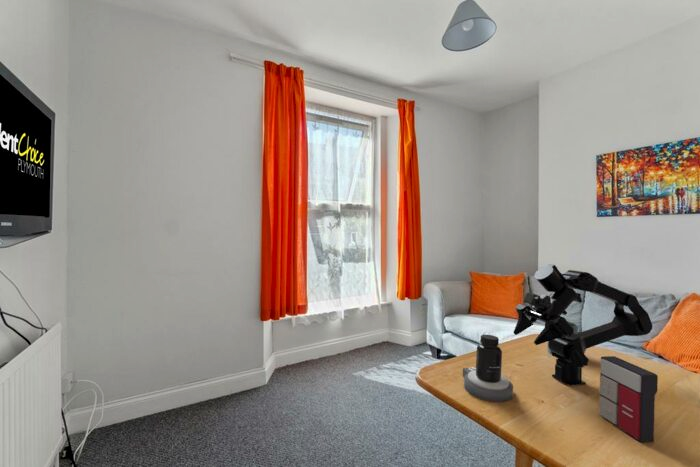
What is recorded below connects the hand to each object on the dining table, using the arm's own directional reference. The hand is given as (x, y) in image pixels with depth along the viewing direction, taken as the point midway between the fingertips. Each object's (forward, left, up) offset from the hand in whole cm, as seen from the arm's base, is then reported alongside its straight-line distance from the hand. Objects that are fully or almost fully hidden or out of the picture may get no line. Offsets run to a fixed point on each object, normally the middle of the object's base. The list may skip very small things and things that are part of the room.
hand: (524, 338), depth 99 cm
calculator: (-9, +24, -14) cm, 29 cm away
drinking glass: (-31, -21, -14) cm, 40 cm away
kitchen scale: (+14, +1, -14) cm, 19 cm away
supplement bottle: (+13, +3, -10) cm, 17 cm away
